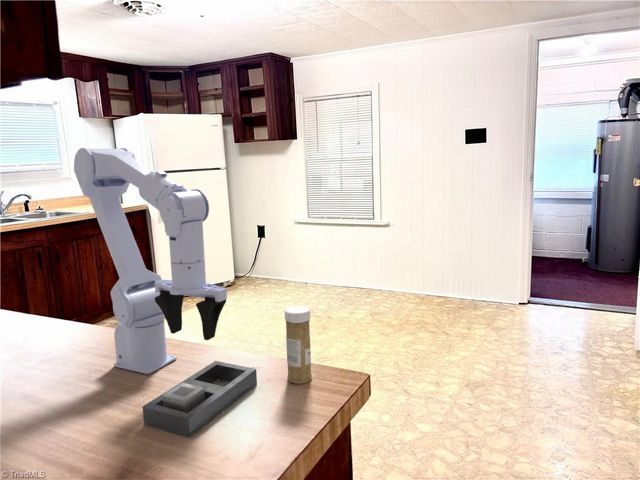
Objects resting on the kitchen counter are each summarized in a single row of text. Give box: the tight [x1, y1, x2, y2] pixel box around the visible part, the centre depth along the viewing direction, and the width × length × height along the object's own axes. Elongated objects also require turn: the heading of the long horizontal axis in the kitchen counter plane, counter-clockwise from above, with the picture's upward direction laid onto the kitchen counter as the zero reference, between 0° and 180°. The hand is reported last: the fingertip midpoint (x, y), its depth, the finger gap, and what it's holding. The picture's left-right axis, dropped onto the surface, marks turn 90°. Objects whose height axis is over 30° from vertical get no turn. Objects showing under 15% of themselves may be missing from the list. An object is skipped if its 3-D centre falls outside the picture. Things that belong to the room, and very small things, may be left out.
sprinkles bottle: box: [284, 305, 313, 385], centre depth 87 cm, size 5×5×13 cm
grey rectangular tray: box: [142, 360, 258, 439], centre depth 79 cm, size 9×18×3 cm, turn 155°
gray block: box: [161, 382, 205, 413], centre depth 75 cm, size 4×4×4 cm
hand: (192, 334), depth 85 cm, fingers open, 7 cm apart
